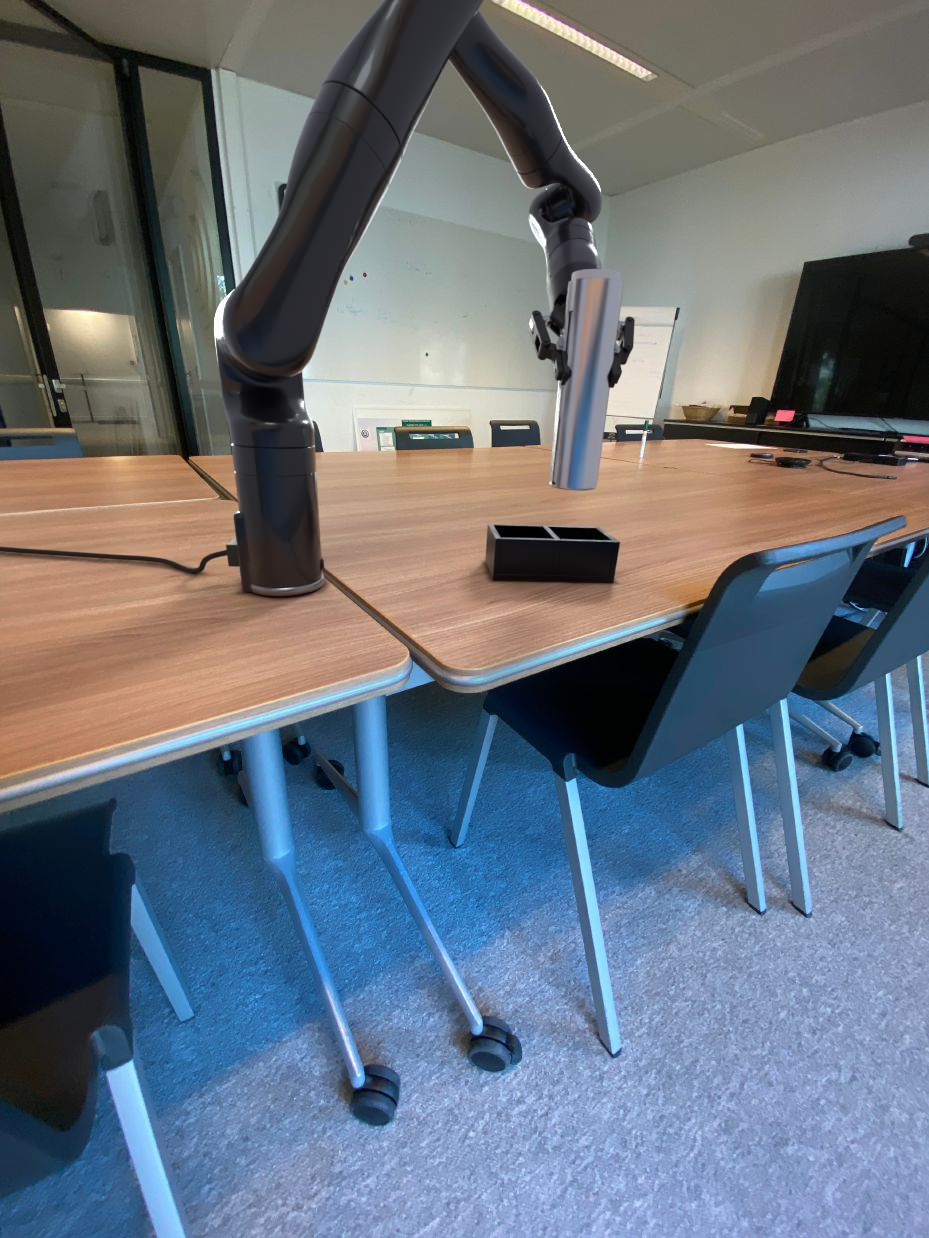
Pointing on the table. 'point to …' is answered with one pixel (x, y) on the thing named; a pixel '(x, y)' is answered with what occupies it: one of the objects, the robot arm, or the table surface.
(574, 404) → the metallic silver cylinder
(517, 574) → the open box with compartments
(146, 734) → the table surface
